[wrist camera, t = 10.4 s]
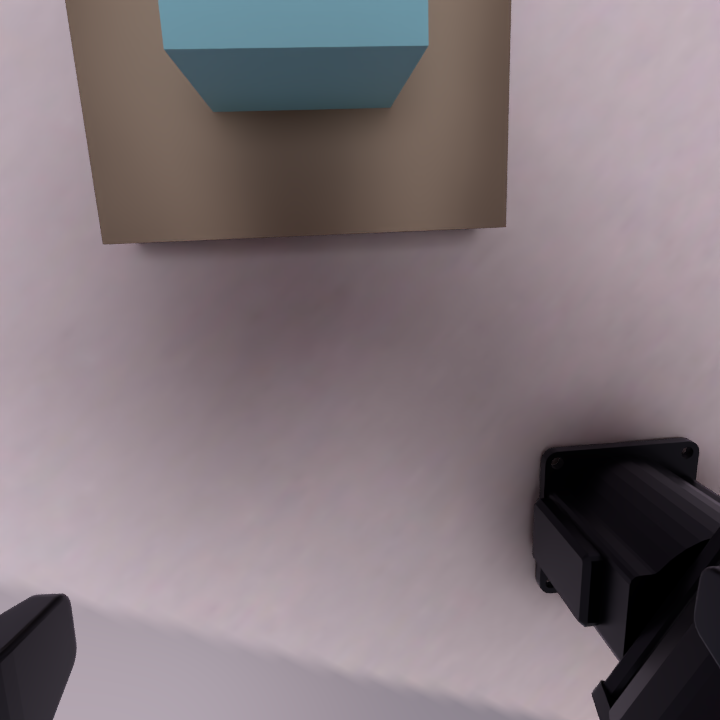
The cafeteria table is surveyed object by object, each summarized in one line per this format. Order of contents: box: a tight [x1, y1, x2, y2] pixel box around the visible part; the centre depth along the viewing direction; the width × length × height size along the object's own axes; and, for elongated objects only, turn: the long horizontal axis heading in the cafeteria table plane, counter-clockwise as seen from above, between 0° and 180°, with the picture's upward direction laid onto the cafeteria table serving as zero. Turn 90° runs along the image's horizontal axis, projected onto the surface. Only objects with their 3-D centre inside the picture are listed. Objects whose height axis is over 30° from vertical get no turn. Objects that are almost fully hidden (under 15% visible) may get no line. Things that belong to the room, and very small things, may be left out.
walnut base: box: [65, 0, 511, 244], centre depth 16 cm, size 12×12×3 cm
